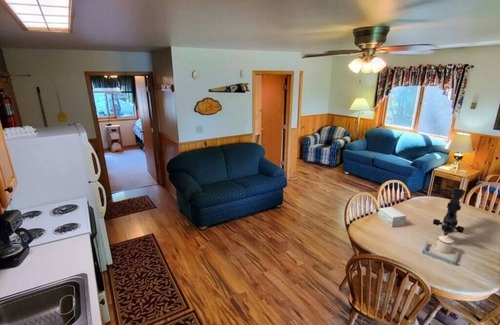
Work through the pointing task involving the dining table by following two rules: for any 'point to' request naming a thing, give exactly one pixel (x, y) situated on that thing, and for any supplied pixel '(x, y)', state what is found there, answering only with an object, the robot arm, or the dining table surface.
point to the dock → (439, 256)
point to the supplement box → (391, 216)
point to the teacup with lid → (444, 244)
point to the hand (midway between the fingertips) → (445, 236)
